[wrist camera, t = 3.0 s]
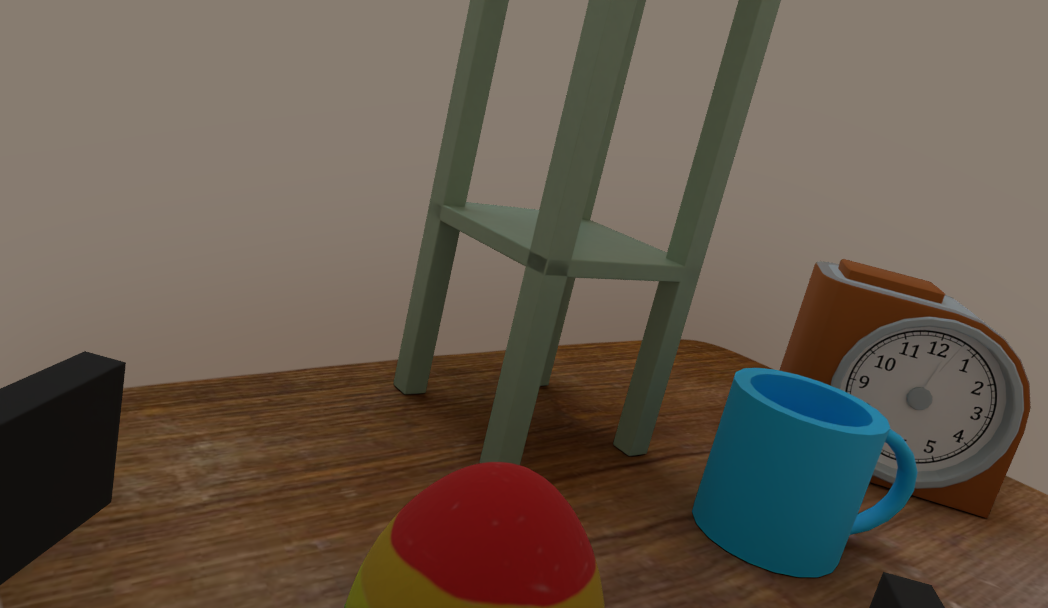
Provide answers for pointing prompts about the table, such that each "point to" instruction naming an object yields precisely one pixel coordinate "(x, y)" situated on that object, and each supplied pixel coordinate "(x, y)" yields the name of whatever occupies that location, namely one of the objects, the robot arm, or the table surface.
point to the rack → (575, 216)
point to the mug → (796, 473)
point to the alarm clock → (917, 377)
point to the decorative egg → (482, 547)
